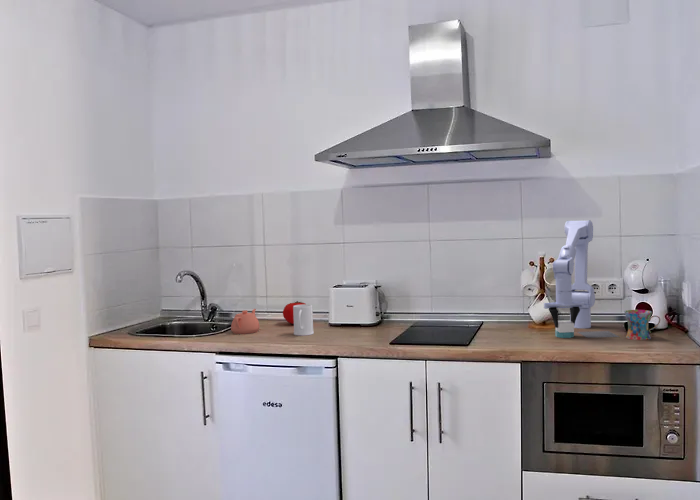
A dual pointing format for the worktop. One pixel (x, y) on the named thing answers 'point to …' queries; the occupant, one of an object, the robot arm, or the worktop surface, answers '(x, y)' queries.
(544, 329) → the worktop surface
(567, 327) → the white block
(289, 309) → the tomato
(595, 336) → the mat
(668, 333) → the worktop surface
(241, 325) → the teapot
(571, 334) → the bowl
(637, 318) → the mug
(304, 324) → the mug
